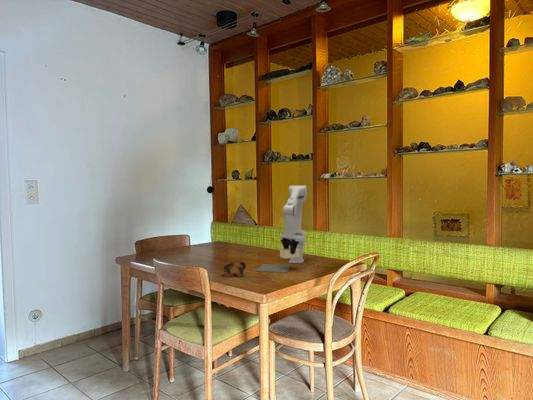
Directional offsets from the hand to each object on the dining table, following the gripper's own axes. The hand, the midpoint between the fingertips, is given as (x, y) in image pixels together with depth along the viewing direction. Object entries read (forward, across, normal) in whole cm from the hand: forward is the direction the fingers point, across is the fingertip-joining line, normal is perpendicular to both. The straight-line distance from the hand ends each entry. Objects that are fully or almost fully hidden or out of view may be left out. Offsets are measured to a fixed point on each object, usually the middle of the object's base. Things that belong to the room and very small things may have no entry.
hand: (289, 253), depth 213 cm
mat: (+8, -5, -6) cm, 12 cm away
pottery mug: (+9, -4, -30) cm, 32 cm away
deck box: (+2, 0, 0) cm, 2 cm away
